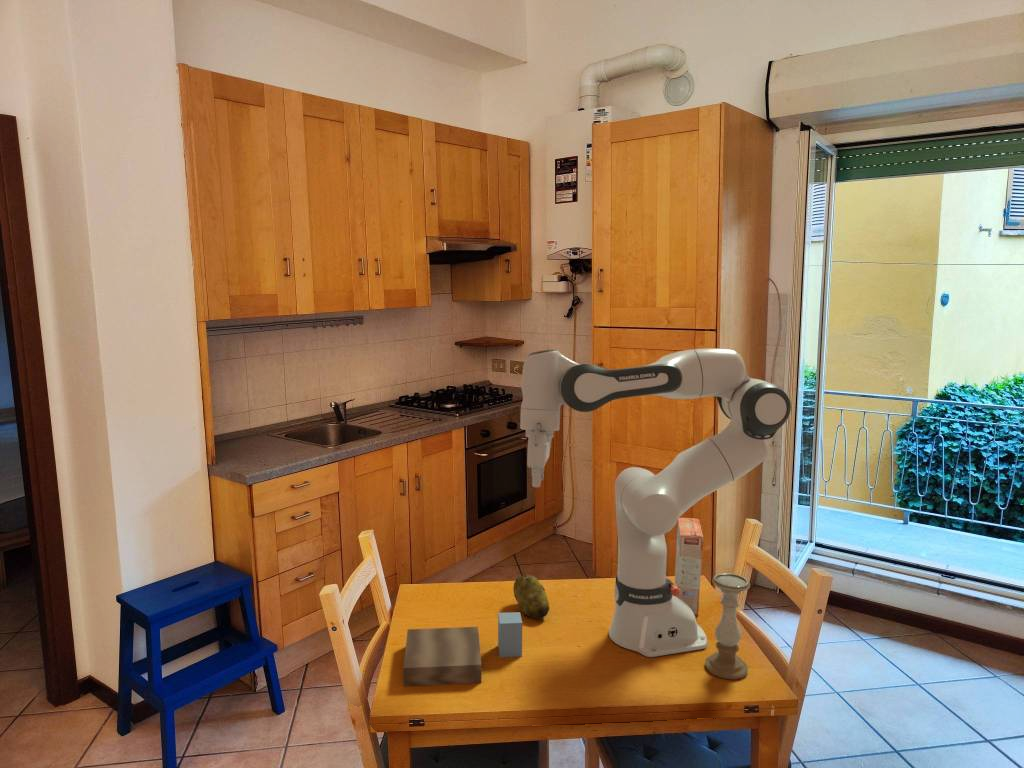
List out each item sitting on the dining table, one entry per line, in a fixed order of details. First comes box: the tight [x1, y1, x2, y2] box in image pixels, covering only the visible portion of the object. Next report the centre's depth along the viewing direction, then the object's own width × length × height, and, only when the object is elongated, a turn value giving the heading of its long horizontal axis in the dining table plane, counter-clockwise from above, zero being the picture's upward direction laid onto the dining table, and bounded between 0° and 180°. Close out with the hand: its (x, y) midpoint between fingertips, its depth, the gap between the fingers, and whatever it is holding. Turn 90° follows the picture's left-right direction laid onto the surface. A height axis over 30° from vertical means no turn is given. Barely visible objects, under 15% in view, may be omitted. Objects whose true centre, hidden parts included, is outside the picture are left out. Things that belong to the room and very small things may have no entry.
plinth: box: [402, 626, 482, 687], centre depth 151 cm, size 16×16×4 cm
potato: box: [512, 573, 550, 620], centre depth 175 cm, size 8×13×8 cm, turn 5°
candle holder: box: [704, 572, 751, 680], centre depth 149 cm, size 9×9×20 cm
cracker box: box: [673, 517, 704, 616], centre depth 179 cm, size 14×6×21 cm, turn 168°
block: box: [497, 611, 523, 658], centre depth 156 cm, size 5×5×8 cm
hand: (537, 483), depth 156 cm, fingers open, 8 cm apart
